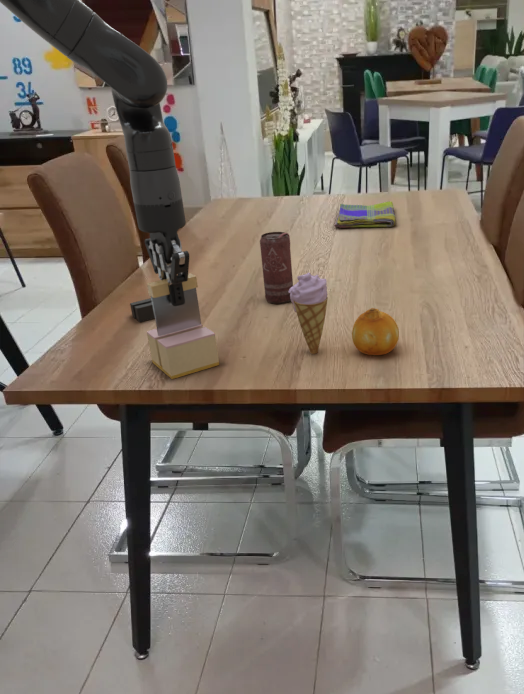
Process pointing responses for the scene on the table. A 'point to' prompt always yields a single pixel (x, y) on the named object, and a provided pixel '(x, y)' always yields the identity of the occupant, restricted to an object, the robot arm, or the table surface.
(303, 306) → the ice cream cone
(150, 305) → the stand
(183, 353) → the slotted cream block
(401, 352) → the table surface
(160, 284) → the scraper
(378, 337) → the fruit
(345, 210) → the dish towel
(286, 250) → the can
